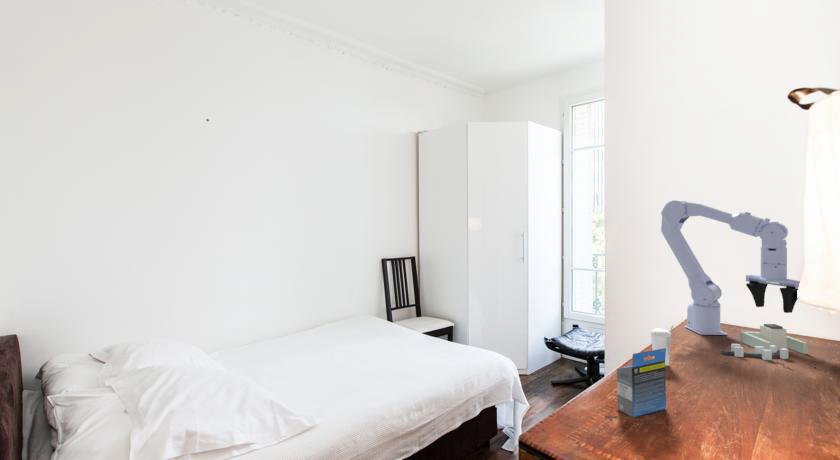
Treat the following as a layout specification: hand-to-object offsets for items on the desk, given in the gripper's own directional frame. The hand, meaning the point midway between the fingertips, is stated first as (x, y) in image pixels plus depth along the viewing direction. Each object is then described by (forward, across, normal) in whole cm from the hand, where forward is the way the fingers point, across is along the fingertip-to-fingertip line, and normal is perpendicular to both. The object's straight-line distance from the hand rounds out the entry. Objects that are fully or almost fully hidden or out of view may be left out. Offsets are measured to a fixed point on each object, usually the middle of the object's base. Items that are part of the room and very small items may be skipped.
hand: (773, 309), depth 115 cm
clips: (+10, +7, -15) cm, 19 cm away
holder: (+10, +3, -5) cm, 11 cm away
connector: (+10, +4, -5) cm, 12 cm away
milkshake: (+10, +6, -44) cm, 45 cm away
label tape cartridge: (+10, +25, -67) cm, 72 cm away
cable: (+10, +7, -15) cm, 19 cm away
